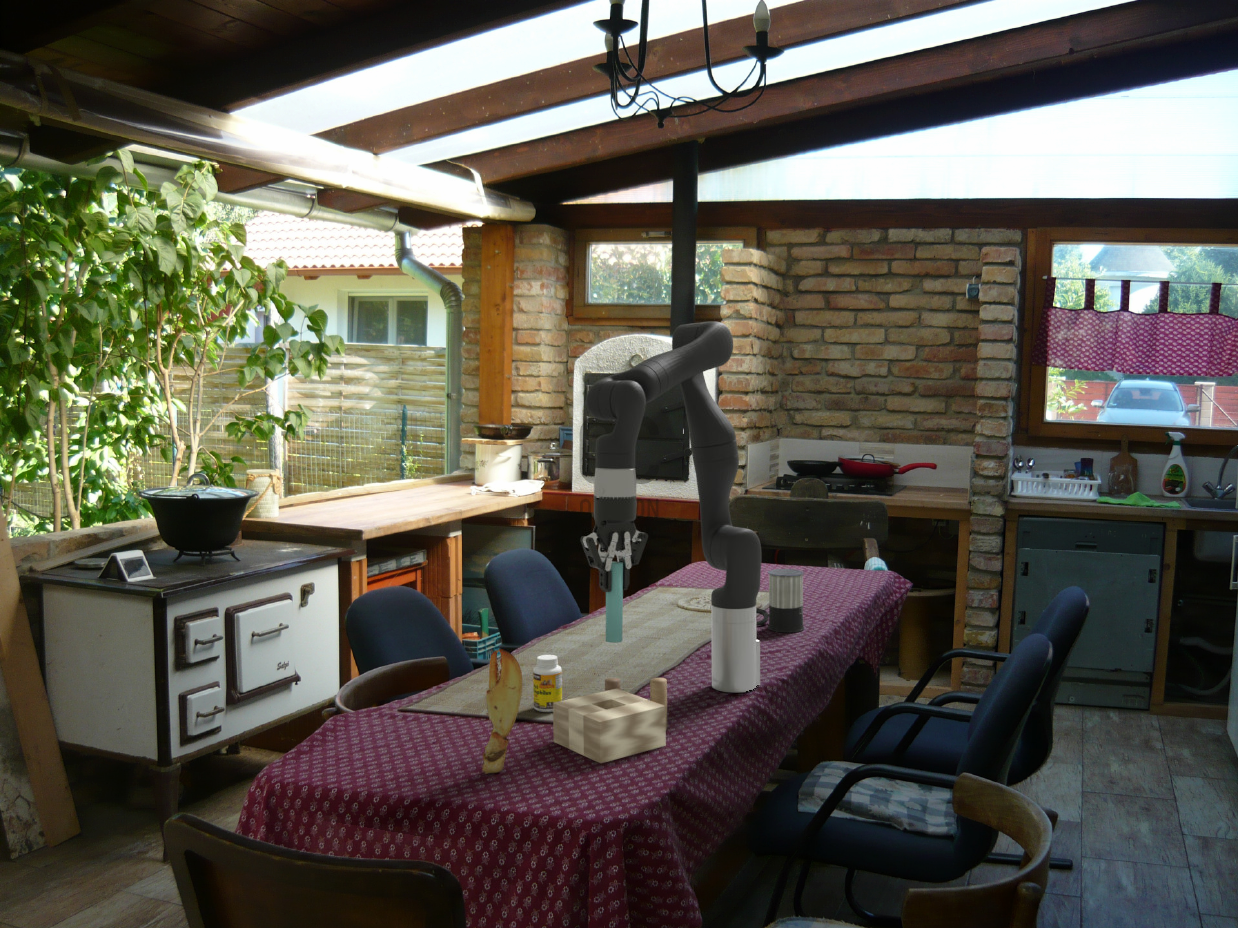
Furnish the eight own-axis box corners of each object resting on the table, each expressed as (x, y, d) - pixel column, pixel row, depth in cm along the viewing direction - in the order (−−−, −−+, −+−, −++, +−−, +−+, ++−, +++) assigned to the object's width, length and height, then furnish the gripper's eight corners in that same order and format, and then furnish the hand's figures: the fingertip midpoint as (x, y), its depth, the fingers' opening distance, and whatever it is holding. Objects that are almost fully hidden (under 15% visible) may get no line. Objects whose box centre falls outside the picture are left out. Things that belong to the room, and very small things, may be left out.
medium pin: (660, 724, 198) (659, 676, 197) (670, 728, 195) (670, 680, 195) (647, 728, 196) (646, 679, 195) (657, 732, 194) (657, 683, 193)
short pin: (614, 707, 209) (614, 677, 208) (623, 710, 206) (623, 680, 206) (602, 710, 207) (601, 679, 207) (611, 713, 205) (611, 683, 204)
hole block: (617, 725, 197) (616, 688, 197) (665, 745, 186) (665, 705, 186) (553, 741, 189) (553, 702, 188) (600, 763, 178) (600, 721, 177)
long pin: (615, 638, 194) (616, 561, 193) (625, 641, 191) (626, 563, 190) (602, 640, 192) (602, 562, 191) (612, 643, 189) (612, 564, 189)
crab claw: (527, 771, 175) (524, 650, 173) (507, 780, 170) (504, 656, 169) (494, 763, 178) (491, 644, 177) (473, 772, 174) (471, 651, 173)
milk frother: (806, 633, 269) (806, 574, 268) (743, 633, 270) (743, 575, 269) (798, 620, 284) (798, 565, 282) (738, 621, 284) (738, 565, 283)
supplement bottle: (528, 710, 207) (527, 658, 207) (544, 703, 212) (543, 652, 212) (552, 714, 205) (551, 661, 204) (567, 706, 210) (567, 655, 209)
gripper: (634, 490, 197) (633, 583, 198) (570, 493, 189) (569, 591, 190) (659, 493, 191) (658, 589, 192) (594, 496, 183) (593, 597, 184)
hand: (614, 589), depth 191 cm, fingers closed on long pin, 3 cm apart
